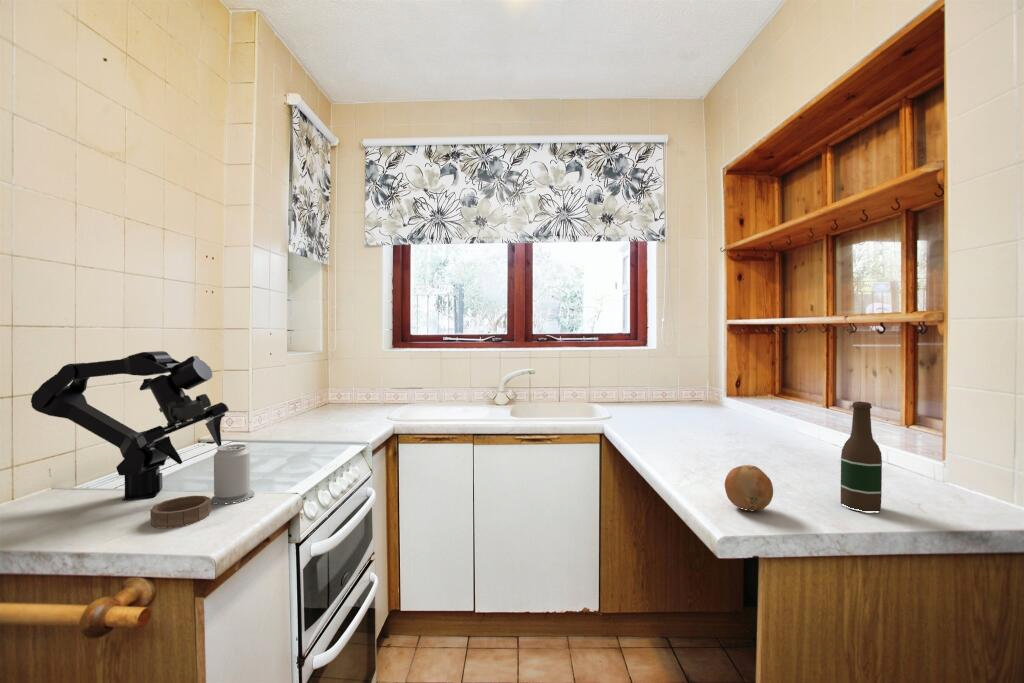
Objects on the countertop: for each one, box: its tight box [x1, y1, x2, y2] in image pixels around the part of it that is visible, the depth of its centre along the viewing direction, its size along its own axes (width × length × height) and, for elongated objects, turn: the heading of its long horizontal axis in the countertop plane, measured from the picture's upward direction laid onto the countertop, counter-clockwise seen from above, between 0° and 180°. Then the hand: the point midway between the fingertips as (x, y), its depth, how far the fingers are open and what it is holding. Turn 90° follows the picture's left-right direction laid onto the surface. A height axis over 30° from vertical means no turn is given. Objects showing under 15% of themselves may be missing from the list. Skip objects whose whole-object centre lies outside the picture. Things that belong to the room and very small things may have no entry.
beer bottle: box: [840, 401, 883, 512], centre depth 104 cm, size 8×8×24 cm
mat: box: [210, 489, 255, 505], centre depth 112 cm, size 9×9×1 cm
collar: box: [150, 495, 212, 529], centre depth 99 cm, size 10×10×3 cm
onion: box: [724, 464, 774, 511], centre depth 104 cm, size 10×10×10 cm
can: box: [213, 443, 251, 500], centre depth 111 cm, size 8×8×12 cm
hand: (201, 454), depth 114 cm, fingers open, 9 cm apart
